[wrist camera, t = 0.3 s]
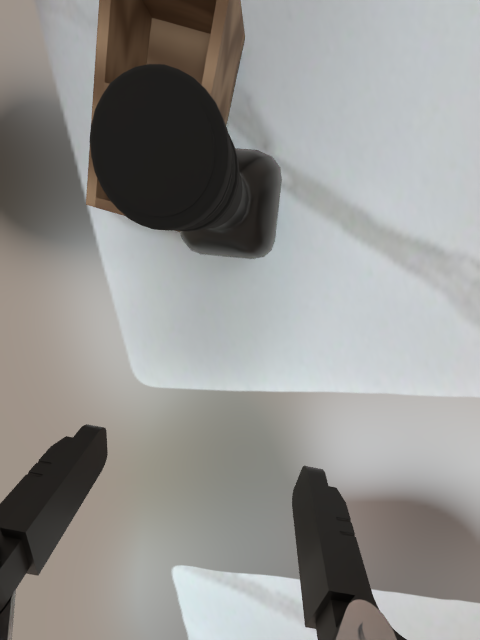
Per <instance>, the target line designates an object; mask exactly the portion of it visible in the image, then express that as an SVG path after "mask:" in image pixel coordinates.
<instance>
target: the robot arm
mask: <svg viewBox="0 0 480 640" xmlns="http://www.w3.org/2000/svg"><path fill="white" fill-rule="evenodd" d="M106 459H107V438H106V429H105V428H103V427H98V426H92V425H84V426H82V427H81V428H80V430H79V431H78V432H77V433H76V435H75V436H74V437H73V438H72V437H67V436H66V437H64V438H63V439H61V440H60V441H58V442H57V443H56V444H54V445H53V446H51V447H50V448H49V449H48V450H47V452H46V453H45V454H44V455H43V456H42V457H41V458H40V459H39V462H38V463H36V464H35V465H34V466H33V467H32V469H31V470H30V471H29V473H28V474H27V475H25V477H24V478H23V479H22V480H21V481H20V482H19V483H18V484H17V485H16V487H15V488H14V489H13V490H12V491H11V492H10V493H9V495H8V496H7V497H6V498H5V499H4V500H3V501H2V502H1V504H0V640H12V630H13V618H14V606H15V594H16V588H17V587H18V585H19V583H20V582H21V580H22V579H23V577H24V575H25V574H26V573H28V574H33V575H39V573H40V572H41V570H42V568H43V567H44V565H45V563H46V562H47V560H48V559H49V557H50V555H51V554H52V552H53V550H54V549H55V547H56V545H57V544H58V542H59V540H60V539H61V537H62V536H63V534H64V532H65V531H66V529H67V527H68V526H69V524H70V522H71V521H72V519H73V517H74V516H75V514H76V512H77V511H78V509H79V507H80V506H81V504H82V503H83V501H84V499H85V498H86V496H87V494H88V493H89V491H90V489H91V488H92V486H93V484H94V483H95V481H96V479H97V478H98V476H99V474H100V472H101V471H102V469H103V467H104V465H105V462H106ZM292 507H293V518H294V526H295V536H296V545H297V555H298V563H299V573H300V582H301V592H302V601H303V610H304V619H305V627H309V628H314V629H316V630H317V637H318V640H406V639H405V638H403V637H402V636H401V635H399V634H398V633H397V632H396V631H395V630H394V629H393V628H392V627H391V626H390V624H389V622H388V621H387V619H386V618H385V617H384V615H383V614H382V613H381V612H380V610H379V608H378V607H377V604H376V602H375V600H374V597H373V594H372V591H371V588H370V584H369V581H368V578H367V574H366V571H365V568H364V564H363V560H362V557H361V554H360V550H359V547H358V543H357V540H356V537H355V536H354V530H353V526H352V523H351V522H350V516H349V513H348V509H347V506H346V502H345V501H344V499H343V498H342V496H341V494H340V493H339V491H338V490H337V488H335V487H330V486H328V483H327V479H326V475H325V472H324V471H323V469H318V468H313V467H308V466H303V468H302V470H301V472H300V475H299V477H298V480H297V482H296V485H295V487H294V490H293V496H292Z"/></svg>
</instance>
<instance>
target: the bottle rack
mask: <svg viewBox="0 0 480 640" xmlns="http://www.w3.org/2000/svg"><path fill="white" fill-rule="evenodd" d="M244 40H245V33H244V25H243V17H242V9H241V1H240V0H99V14H98V29H97V44H96V60H95V75H94V90H93V106H92V120H93V115H94V111H95V108H96V106H97V104H98V102H99V100H100V98H101V96H102V94H103V93H104V91H105V90H106V89H107V87H108V86H109V84H110V83H111V82H112V81H113V80H115V79H116V78H117V77H118V76H120V75H121V74H122V73H124V72H126V71H128V70H130V69H132V68H134V67H137V66H142V65H147V64H165V65H168V66H171V67H174V68H177V69H179V70H181V71H183V72H185V73H187V74H188V75H190V76H192V77H193V78H195V79H196V80H197V81H198V82H199V83H200V84H201V85H202V86H203V87H204V88H205V89H206V90H207V91H208V93H209V94H210V95H211V97H212V98H213V99H214V101H215V102H216V104H217V106H218V108H219V110H220V112H221V115H222V117H223V119H224V122H225V124H227V120H228V115H229V110H230V106H231V101H232V96H233V92H234V87H235V82H236V77H237V73H238V68H239V63H240V59H241V54H242V49H243V45H244ZM91 124H92V121H91ZM86 205H89V206H93V207H96V208H100V209H103V210H107V211H110V212H113V213H117V214H120V215H124V214H123V213H122V212H121V211H119V210H118V209H117V208H116V207H115V205H114V204H113V203H112V202H111V201H110V200H109V198H108V197H107V195H106V194H105V192H104V190H103V189H102V187H101V185H100V183H99V181H98V178H97V176H96V174H95V171H94V167H93V162H92V158H91V149H90V151H89V167H88V182H87V197H86ZM124 216H125V215H124ZM175 231H176V230H175ZM179 232H180V231H179Z"/></svg>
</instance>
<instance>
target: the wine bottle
mask: <svg viewBox="0 0 480 640" xmlns="http://www.w3.org/2000/svg"><path fill="white" fill-rule="evenodd" d="M90 149H91V158H92V162H93V167H94V171H95V174H96V176H97V178H98V181H99V183H100V185H101V187H102V189H103V190H104V192H105V194H106V195H107V197H108V198H109V200H110V201H111V202H112V203H113V204H114V205H115V207H116V208H117V209H118V210H119V211H121V212H122V213H123V214H124V215H125V216H126V217H128V218H129V219H131V220H132V221H134V222H136V223H138V224H140V225H142V226H145V227H148V228H151V229H158V230H171V231H172V230H176V231H180V233H181V237H182V239H183V241H184V242H185V243H186V245H187V246H188V247H189V248H190V249H191V250H192V251H194V252H197V253H199V254H205V255H215V256H226V257H237V258H248V259H255V258H260V257H264V256H265V255H267V254H268V253H269V252H270V251H271V250H272V247H273V244H274V242H275V234H276V225H277V216H278V208H279V199H280V190H281V181H282V177H281V169H280V167H279V165H278V164H277V162H276V161H275V160H274V158H273V157H272V156H269V155H267V154H265V153H262V152H260V151H258V150H251V149H236V148H235V147H234V145H233V142H232V140H231V138H230V136H229V134H228V131H227V127H226V124H225V122H224V119H223V117H222V115H221V112H220V110H219V108H218V106H217V104H216V102H215V101H214V99H213V98H212V97H211V95H210V94H209V93H208V91H207V90H206V89H205V88H204V87H203V86H202V85H201V84H200V83H199V82H198V81H197V80H196V79H195V78H193V77H192V76H190V75H188V74H187V73H185V72H183V71H181V70H179V69H177V68H174V67H171V66H168V65H165V64H147V65H142V66H137V67H134V68H132V69H130V70H128V71H126V72H124V73H122V74H121V75H120V76H118V77H117V78H116V79H115V80H113V81H112V82H111V83H110V84H109V86H108V87H107V89H106V90H105V91H104V93H103V94H102V96H101V98H100V100H99V102H98V104H97V106H96V108H95V111H94V115H93V120H92V124H91V132H90Z"/></svg>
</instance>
